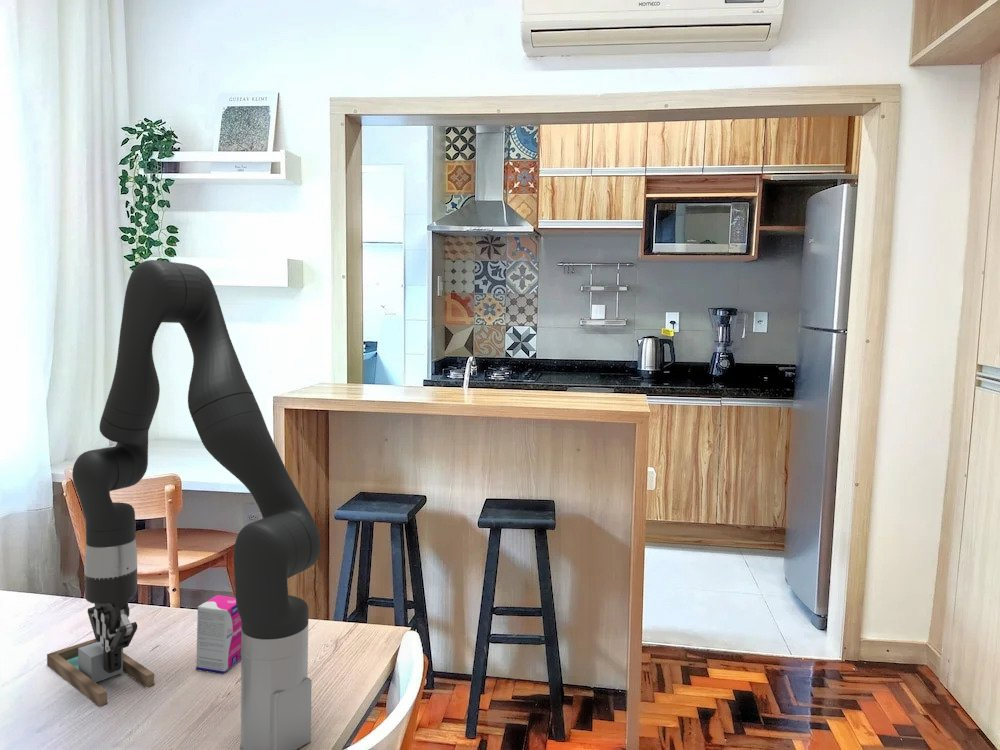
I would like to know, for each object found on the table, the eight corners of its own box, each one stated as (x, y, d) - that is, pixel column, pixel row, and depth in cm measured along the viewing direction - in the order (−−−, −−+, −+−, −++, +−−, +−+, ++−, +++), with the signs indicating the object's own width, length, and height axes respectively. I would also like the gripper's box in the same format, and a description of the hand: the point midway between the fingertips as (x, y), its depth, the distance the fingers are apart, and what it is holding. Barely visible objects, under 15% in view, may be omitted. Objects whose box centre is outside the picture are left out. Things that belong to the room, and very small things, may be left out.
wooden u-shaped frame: (154, 684, 114) (154, 673, 114) (99, 706, 107) (98, 694, 107) (99, 647, 126) (99, 637, 126) (47, 665, 119) (47, 654, 119)
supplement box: (225, 675, 118) (225, 610, 117) (195, 670, 119) (195, 606, 118) (244, 659, 123) (245, 597, 123) (215, 655, 125) (215, 593, 124)
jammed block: (123, 672, 117) (122, 646, 116) (91, 683, 113) (91, 657, 112) (109, 662, 120) (109, 637, 119) (78, 673, 116) (78, 648, 115)
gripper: (154, 571, 111) (155, 674, 112) (116, 553, 119) (117, 649, 120) (105, 584, 105) (106, 693, 106) (69, 564, 113) (70, 666, 114)
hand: (112, 670), depth 113 cm, fingers closed
